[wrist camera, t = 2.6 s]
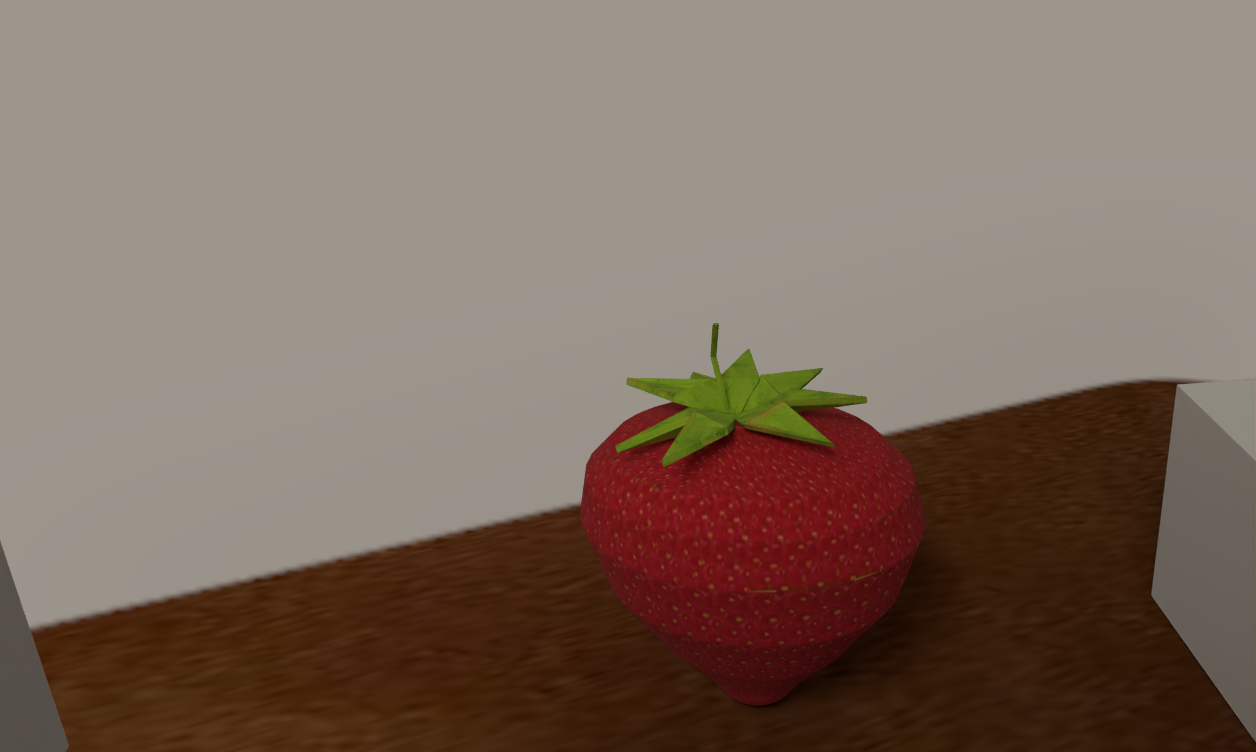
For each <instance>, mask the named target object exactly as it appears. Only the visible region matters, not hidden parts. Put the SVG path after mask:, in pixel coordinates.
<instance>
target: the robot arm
mask: <svg viewBox="0 0 1256 752" xmlns="http://www.w3.org/2000/svg"><path fill="white" fill-rule="evenodd" d="M68 746H69V745H68V742H67V739H66V736H65V733H64V730H63V727H62V724H61V721H60V718H59V715H58V712H57V709H56V706H55V703H54V700H53V697H52V694H51V691H50V688H49V685H48V682H47V679H46V676H45V673H44V670H43V667H42V664H41V661H40V658H39V655H38V652H37V649H36V646H35V643H34V640H33V637H32V634H31V631H30V628H29V625H28V623H27V620H26V617H25V614H24V611H23V608H22V605H21V602H20V599H19V596H18V593H17V590H16V587H15V584H14V581H13V578H12V575H11V572H10V569H9V566H8V563H7V560H6V557H5V554H4V551H3V548H2V545H1V542H0V752H65V751H66V750H67V748H68Z"/></svg>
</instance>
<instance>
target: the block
mask: <svg viewBox="0 0 1256 752" xmlns="http://www.w3.org/2000/svg"><path fill="white" fill-rule="evenodd" d="M1151 596H1152V597H1153V599H1154V600H1155V601H1156V603H1157V604H1158V606H1159V607H1160V608H1161V610H1162V611H1163V613H1164V614H1165V616H1166V617H1167V618H1168V620H1169V621H1170V623H1171V624H1172V625H1173V627H1174V628H1175V630H1176V631H1177V632H1178V634H1179V635H1180V637H1181V638H1182V639H1183V641H1184V642H1185V644H1186V645H1187V646H1188V648H1189V649H1190V651H1191V652H1192V653H1193V655H1194V656H1195V658H1196V659H1197V661H1198V662H1199V663H1200V665H1201V666H1202V668H1203V669H1204V670H1205V672H1206V673H1207V675H1208V676H1209V677H1210V679H1211V680H1212V682H1213V683H1214V684H1215V686H1216V687H1217V689H1218V690H1219V691H1220V693H1221V694H1222V696H1223V697H1224V699H1225V700H1226V701H1227V703H1228V704H1229V706H1230V707H1231V708H1232V710H1233V711H1234V713H1235V714H1236V715H1237V717H1238V718H1239V720H1240V721H1241V722H1242V724H1243V725H1244V727H1245V728H1246V729H1247V731H1248V732H1249V734H1250V735H1251V736H1252V738H1253V739H1254V741H1255V742H1256V379H1244V380H1232V381H1219V382H1206V383H1193V384H1181V385H1177V390H1176V398H1175V406H1174V414H1173V422H1172V430H1171V438H1170V447H1169V455H1168V463H1167V471H1166V479H1165V487H1164V495H1163V503H1162V512H1161V520H1160V528H1159V536H1158V544H1157V552H1156V560H1155V568H1154V576H1153V585H1152V593H1151Z"/></svg>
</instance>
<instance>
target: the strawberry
mask: <svg viewBox="0 0 1256 752" xmlns="http://www.w3.org/2000/svg"><path fill="white" fill-rule="evenodd" d="M718 327H719V324H718V323H714V324H713V328H712V343H711V361H712V364H713V368H714V372H715V376H716V378H713V377H709V376H706V375H702V374H699V373H695V372H693V373H692V375H691V377H690V378H691V379H656V378H653V379H652V378H627V385H629V386H632V387H635V388H637V389H640V390H643V391H645V392H648V393H651V394H654V395H656V396H659V397H662V398H664V399H667V400H670V401H672V402H671V403H667V404H664V405H660V406H657V407H653V408H651V409H648V410H646V411H643V412H641V413H638V414H636V415H634V416H633V417H631V418H629V419H628V420H626V421H624V422H623V423H622V424H621V425H620V426H619V427H618V428H617V429H616V430H615V431H614V432H613V433H612V434H611V435H610V436H609V437H608V438H607V439H606V440H605V441H604V442H603V443H602V444H601V445H600V446H599V447H598V448H597V449H596V450H595V451H594V452H593V453H592V455H591V457H590V459H589V461H588V463H587V465H586V471H585V479H584V487H583V495H582V502H581V522H582V524H583V526H584V529H585V531H586V533H587V535H588V538H589V540H590V542H591V544H592V546H593V549H594V551H595V553H596V555H597V557H598V559H599V562H600V564H601V566H602V568H603V570H604V573H605V575H606V577H607V579H608V581H609V583H610V586H611V588H612V590H613V592H614V594H615V595H616V596H617V597H618V598H619V599H620V600H621V602H622V603H623V604H624V605H625V606H626V607H627V608H628V609H629V610H630V611H631V612H632V613H633V614H634V615H635V616H636V617H637V618H638V619H639V620H640V621H641V622H642V623H644V624H645V625H646V626H647V627H648V628H649V629H650V630H651V631H652V632H653V633H654V634H655V635H656V636H657V637H658V638H659V639H660V640H661V641H662V642H663V643H664V644H665V645H666V646H667V647H668V648H669V649H670V650H671V651H672V652H674V653H675V654H676V655H678V656H679V657H681V658H682V659H684V660H685V661H686V662H688V663H689V664H691V665H692V666H694V667H695V668H697V669H698V670H699V671H701V672H702V673H704V674H705V675H706V676H708V677H709V678H710V679H711V680H713V681H714V682H715V683H716V684H717V685H718V686H719V687H720V689H721V690H722V691H724V692H725V693H726V694H727V695H729V696H730V697H731V698H733V699H735V700H737V701H739V702H741V703H744V704H748V705H754V706H762V705H768V704H772V703H774V702H777V701H779V700H781V699H783V698H784V697H785V696H786V695H788V694H789V693H790V692H791V691H792V690H793V689H794V687H795V686H797V685H798V684H799V683H801V682H802V681H803V680H804V679H806V678H808V677H809V676H811V675H812V674H814V673H816V672H817V671H819V670H820V669H822V668H824V667H825V666H827V665H828V664H830V663H832V662H833V661H835V660H836V659H837V658H838V657H839V656H840V655H841V654H842V653H843V652H844V651H845V650H847V649H848V648H849V647H850V646H851V645H852V644H853V643H854V642H855V641H856V640H857V639H858V638H860V637H861V636H862V635H863V634H864V633H865V632H866V631H867V630H868V629H869V628H870V627H871V626H872V625H874V624H875V623H876V622H877V621H878V620H879V619H880V618H881V617H882V616H883V615H884V614H885V613H886V612H887V611H888V610H889V609H890V608H891V607H892V606H893V605H894V603H895V601H896V599H897V597H898V595H899V593H900V591H901V588H902V586H903V584H904V581H905V579H906V576H907V574H908V571H909V569H910V566H911V564H912V561H913V559H914V557H915V554H916V552H917V549H918V547H919V544H920V542H921V539H922V537H923V535H924V532H925V514H924V510H923V506H922V501H921V497H920V493H919V489H918V484H917V480H916V476H915V472H914V470H913V468H912V466H911V464H910V462H909V460H908V459H907V458H906V457H905V456H904V455H903V454H902V453H901V452H900V451H899V450H898V449H897V448H896V447H895V446H894V445H893V444H891V443H890V442H889V441H888V440H887V439H886V438H885V437H883V436H882V435H881V434H880V433H879V432H878V431H876V430H875V429H874V428H873V427H872V426H871V425H869V424H868V423H866V422H864V421H863V420H861V419H859V418H858V417H856V416H854V415H851V414H849V413H846V412H844V411H842V410H839V409H836V408H834V407H840V406H848V405H854V404H862V403H867V397H863V396H855V395H846V394H839V393H831V392H822V391H813V390H805V389H802V388H803V387H804V386H806V385H807V384H808V383H809V382H810V381H811V380H812V379H813V378H815V377H816V376H817V375H818V374H819V373H820V372H821V371H822V369H823V368H820V369H811V370H801V371H792V372H783V373H774V374H766V375H761V376H760V377H759V375H758V372H757V369H756V367H755V364H754V361H753V358H752V355H751V353H750V350H749V349H748V350H747V351H745V352H744V353H743V354H742V355H741V356H740V357H739V358H738V359H737V360H736V361H735V362H734V363H733V364H732V365H731V366H730V367H729V368H728V369H727V370H726V371H725V372H724V373H723V374H722V375H721V373H720V369H719V365H718V361H717V358H716V353H717V339H718Z"/></svg>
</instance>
